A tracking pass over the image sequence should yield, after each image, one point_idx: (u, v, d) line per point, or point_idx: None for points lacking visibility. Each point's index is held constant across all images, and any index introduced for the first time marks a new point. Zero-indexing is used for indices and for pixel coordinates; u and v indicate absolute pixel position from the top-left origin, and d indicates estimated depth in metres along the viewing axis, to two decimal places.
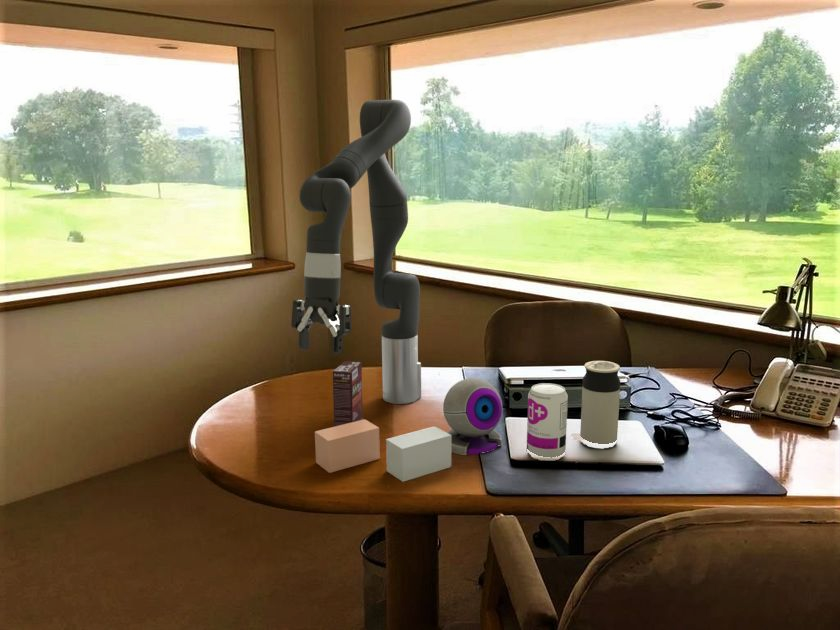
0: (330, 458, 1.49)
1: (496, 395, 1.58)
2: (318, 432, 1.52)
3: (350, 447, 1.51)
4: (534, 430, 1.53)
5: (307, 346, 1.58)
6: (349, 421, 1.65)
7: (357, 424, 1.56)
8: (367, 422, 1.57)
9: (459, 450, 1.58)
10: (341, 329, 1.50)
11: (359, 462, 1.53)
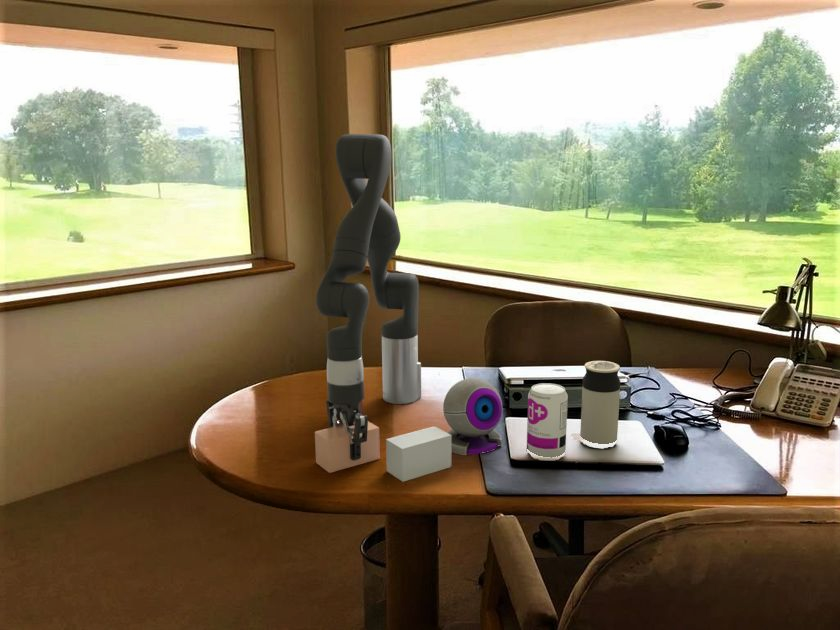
0: (330, 458, 1.49)
1: (496, 395, 1.58)
2: (318, 432, 1.52)
3: None
4: (534, 430, 1.53)
5: None
6: None
7: None
8: None
9: (459, 450, 1.58)
10: (354, 438, 1.48)
11: (359, 462, 1.53)
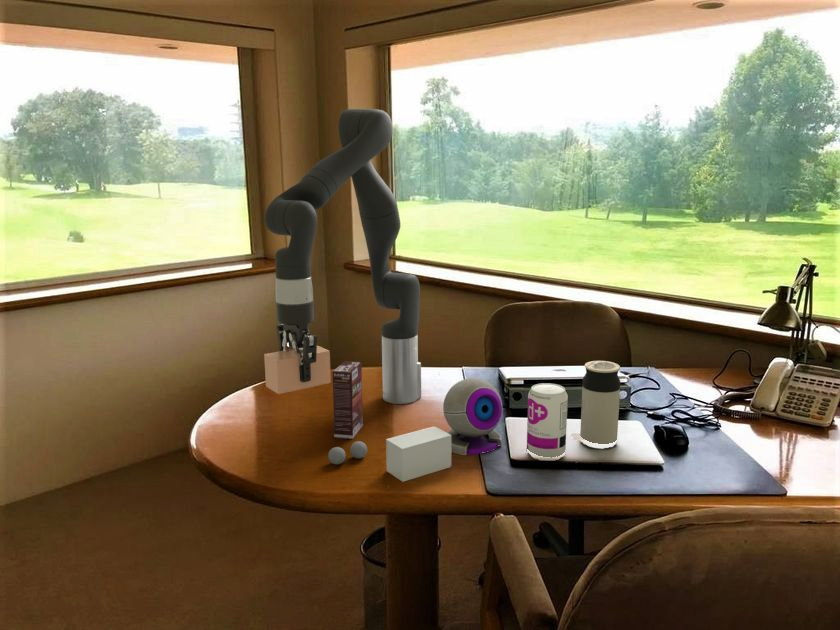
0: (279, 378, 1.48)
1: (496, 395, 1.58)
2: (267, 354, 1.51)
3: None
4: (534, 430, 1.53)
5: None
6: (349, 421, 1.65)
7: None
8: (318, 347, 1.56)
9: (459, 450, 1.58)
10: (303, 358, 1.47)
11: (309, 385, 1.52)
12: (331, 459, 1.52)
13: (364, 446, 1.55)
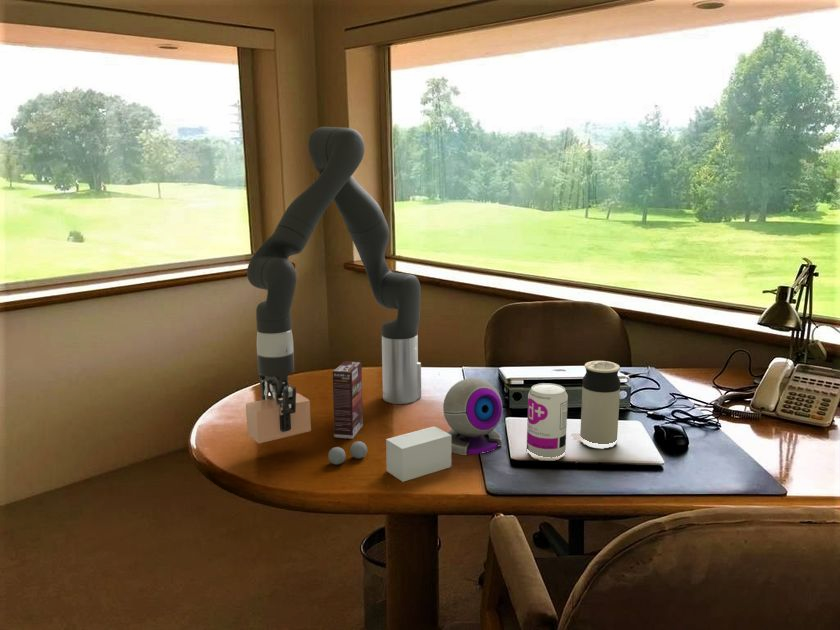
0: (259, 428, 1.52)
1: (496, 395, 1.58)
2: (249, 404, 1.55)
3: None
4: (534, 430, 1.53)
5: None
6: (349, 421, 1.65)
7: None
8: (299, 395, 1.60)
9: (459, 450, 1.58)
10: (283, 409, 1.51)
11: (289, 434, 1.56)
12: (331, 459, 1.52)
13: (364, 446, 1.55)
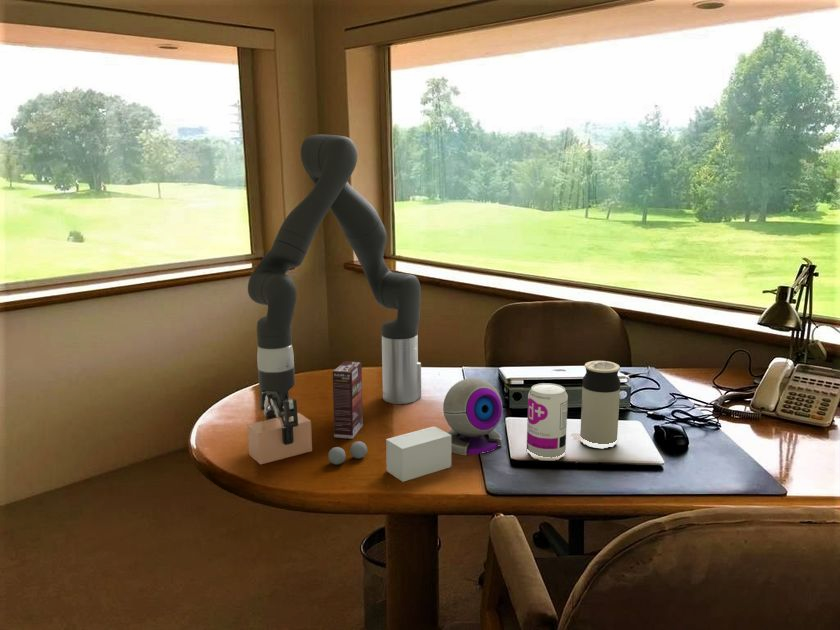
0: (261, 450, 1.53)
1: (496, 395, 1.58)
2: (250, 425, 1.56)
3: (281, 439, 1.55)
4: (534, 430, 1.53)
5: None
6: (349, 421, 1.65)
7: None
8: (300, 415, 1.61)
9: (459, 450, 1.58)
10: (285, 423, 1.51)
11: (291, 454, 1.57)
12: (331, 459, 1.52)
13: (364, 446, 1.55)
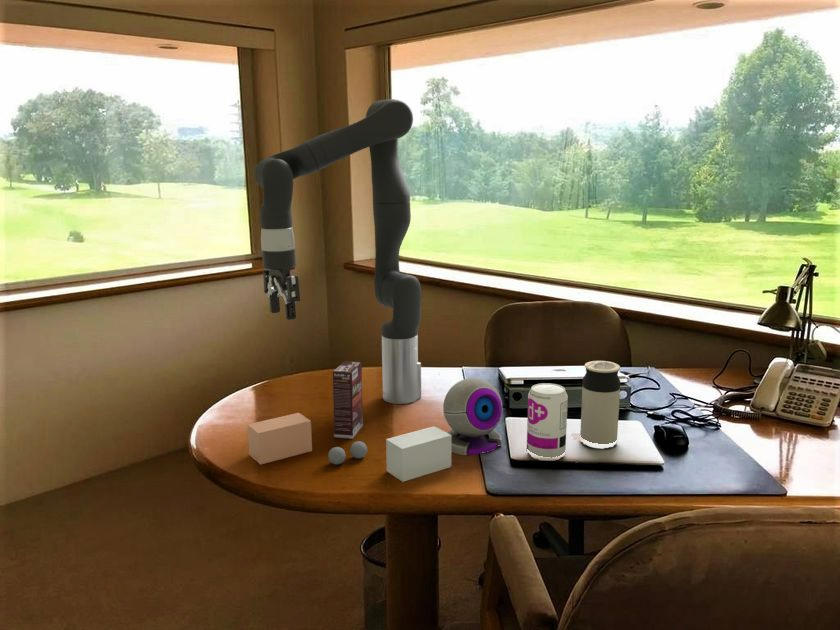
0: (261, 450, 1.53)
1: (496, 395, 1.58)
2: (250, 425, 1.56)
3: (281, 439, 1.55)
4: (534, 430, 1.53)
5: (277, 310, 1.76)
6: (349, 421, 1.65)
7: (290, 417, 1.60)
8: (300, 415, 1.61)
9: (459, 450, 1.58)
10: (288, 298, 1.65)
11: (291, 454, 1.57)
12: (331, 459, 1.52)
13: (364, 446, 1.55)
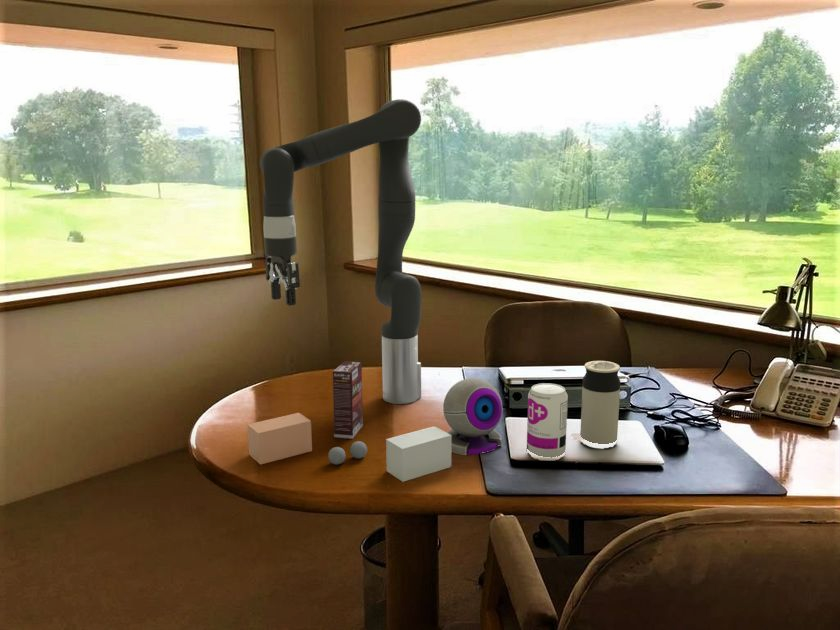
0: (261, 450, 1.53)
1: (496, 395, 1.58)
2: (250, 425, 1.56)
3: (281, 439, 1.55)
4: (534, 430, 1.53)
5: (278, 296, 1.80)
6: (349, 421, 1.65)
7: (290, 417, 1.60)
8: (300, 415, 1.61)
9: (459, 450, 1.58)
10: (288, 284, 1.70)
11: (291, 454, 1.57)
12: (331, 459, 1.52)
13: (364, 446, 1.55)
